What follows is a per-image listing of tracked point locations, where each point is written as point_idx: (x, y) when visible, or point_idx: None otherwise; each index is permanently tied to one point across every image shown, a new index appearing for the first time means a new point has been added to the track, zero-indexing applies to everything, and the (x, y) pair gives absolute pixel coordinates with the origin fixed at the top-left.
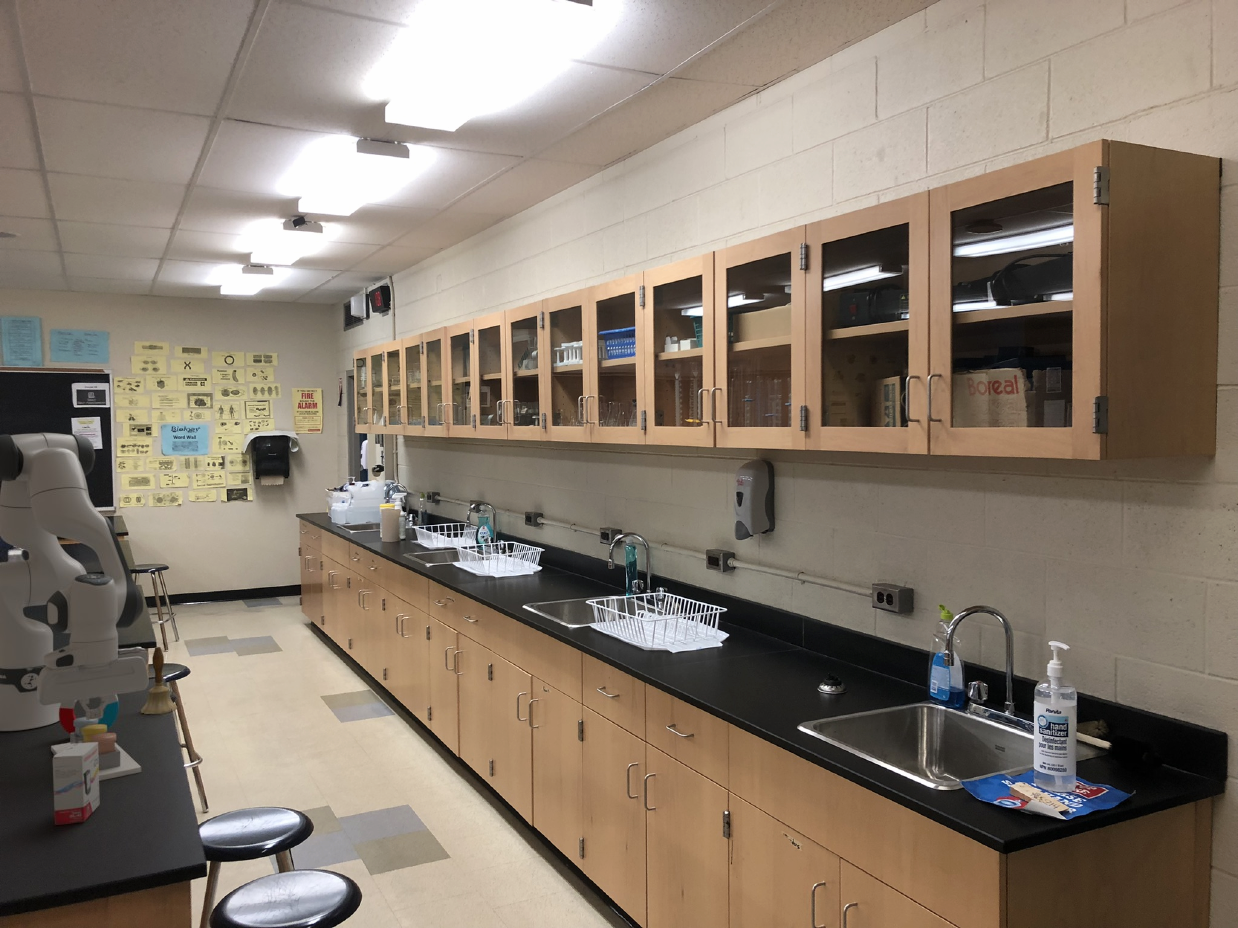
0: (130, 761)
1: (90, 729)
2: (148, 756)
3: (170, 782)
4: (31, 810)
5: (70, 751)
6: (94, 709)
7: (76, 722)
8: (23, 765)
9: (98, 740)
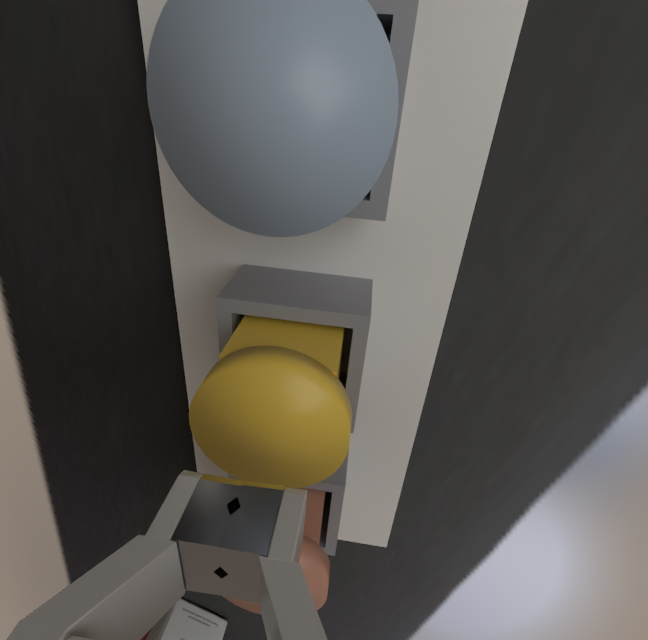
0: (386, 486)
1: (237, 452)
2: (494, 421)
3: (401, 622)
4: (100, 557)
5: None
6: (224, 562)
7: (172, 166)
8: (13, 122)
9: (238, 600)
